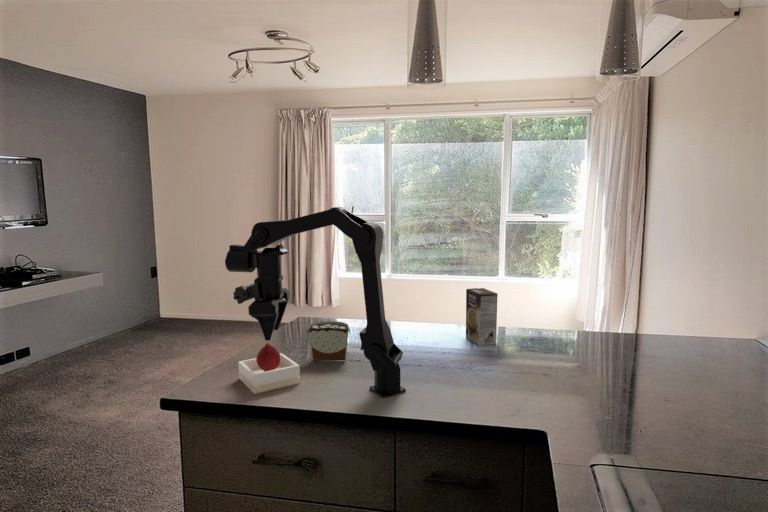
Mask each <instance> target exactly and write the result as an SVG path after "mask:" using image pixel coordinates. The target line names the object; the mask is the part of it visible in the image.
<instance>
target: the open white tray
mask: <svg viewBox="0 0 768 512" xmlns="http://www.w3.org/2000/svg"><path fill="white" fill-rule="evenodd" d="M279 354H280V358H281V359H280V364H279V366H278V367H277V368H276V369H275V370H271V371H266V372H265V371H263V370H262V369H261V368H260V367H259V366H258V364H257V361H256V358H257V357H254V358H249V359H244V360H240V361H238V372H239V373H238V379H239V380H240V381H241V382H242V383H243V384H244V385H245V386H246V388H248V389H249V390H250V392H252V394H254V395H256V394H259V393H265V392H268V391H271V390H276V389H281V388H285V387H289V386H293V385H298V384H301V377H300V375H301V369H300V365H299V364H298V363H297V362H295V361H293V360H292V359H291V358H290V357H288V356H286V355H285V354H284V353H281V352H279Z"/></svg>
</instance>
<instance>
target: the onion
mask: <svg viewBox="0 0 768 512" xmlns="http://www.w3.org/2000/svg"><path fill="white" fill-rule="evenodd" d="M255 358H256V361H257V364H258V366H259V367H260V368H261V369H262V370H263V371H265V372H266V371H271V370H275V369H276V368H277V367H278V366H279V364H280V359H281V358H280V352H279V350H278V349H277V348H276V347H275V346H273V345H271V344H270V342H268V341H265V344H264V346H263V347H262V348H261V349H260V350H259V351H258V353H257V354H256V357H255Z"/></svg>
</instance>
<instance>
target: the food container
mask: <svg viewBox="0 0 768 512" xmlns="http://www.w3.org/2000/svg"><path fill="white" fill-rule="evenodd" d="M350 329H351V328H350V327H349V324H348V323H346V322H342V321H337V320H335V321H334V320H328V321H326V320H325V321H318V322H317V321H316V322H313V323H311V324H309V325H307V330H306V334H308V335H309V342H310V350H311V351H310V352H311V357H312V361H313V360H323V361H322V362H328V361H327V360H331V361H330V362H333V361H332V360H345V361H347V351H348V339H349V338H348V337H349V334H351V330H350ZM324 360H326V361H324ZM345 361H344V362H345Z"/></svg>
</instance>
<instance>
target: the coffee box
mask: <svg viewBox="0 0 768 512" xmlns="http://www.w3.org/2000/svg"><path fill="white" fill-rule="evenodd" d="M465 291H466V292H465V293H466V295H465V296H466V297H465V302H466V303H465V338H466V339H467V340H469V341H471V342H472V343H474V344H475V345H477V346H479V347H480V346H487V345H488V346H490V345H496V344H497V323H498V321H497V319H498V293H497V292H495V291H492V290H489V289H486V288H485V287H480V288H479V287H478V288H477V287H475V288H466V290H465Z"/></svg>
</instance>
